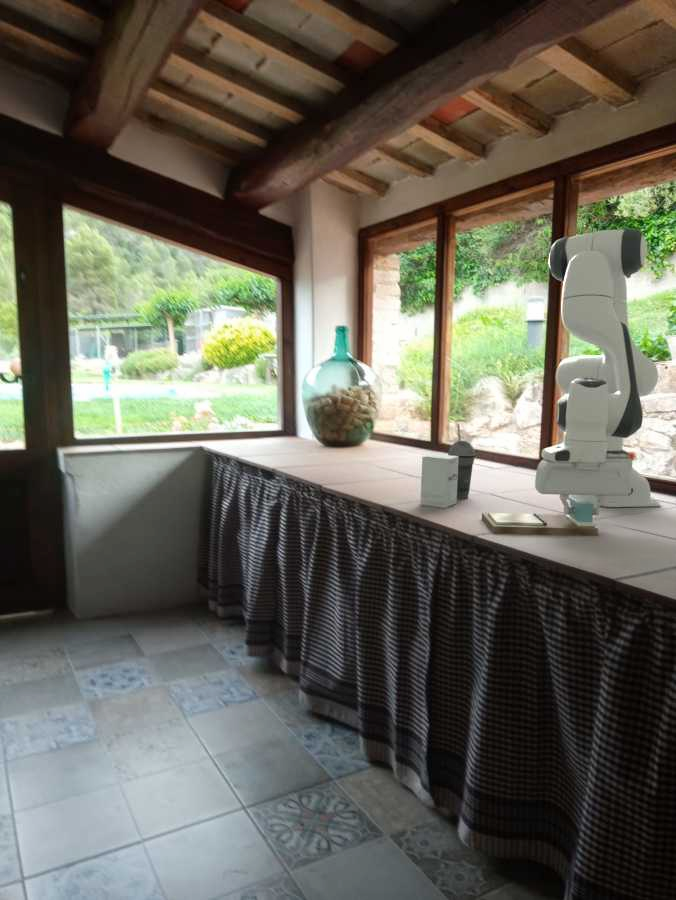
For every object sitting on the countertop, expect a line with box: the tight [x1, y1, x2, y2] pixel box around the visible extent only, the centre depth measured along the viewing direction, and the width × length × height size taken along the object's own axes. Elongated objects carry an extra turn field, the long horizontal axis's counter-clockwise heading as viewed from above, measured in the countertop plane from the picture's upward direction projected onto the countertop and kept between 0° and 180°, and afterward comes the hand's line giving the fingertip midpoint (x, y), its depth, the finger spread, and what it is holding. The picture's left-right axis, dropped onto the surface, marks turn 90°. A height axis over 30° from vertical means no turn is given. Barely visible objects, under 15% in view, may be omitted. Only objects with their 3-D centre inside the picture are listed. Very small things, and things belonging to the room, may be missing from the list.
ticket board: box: [481, 512, 599, 537], centre depth 143 cm, size 22×13×2 cm, turn 88°
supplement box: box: [419, 453, 459, 509], centre depth 165 cm, size 7×7×13 cm
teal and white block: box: [564, 498, 598, 527], centre depth 143 cm, size 4×9×4 cm, turn 178°
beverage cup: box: [447, 423, 476, 500], centre depth 175 cm, size 7×7×20 cm
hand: (580, 514), depth 143 cm, fingers open, 4 cm apart
